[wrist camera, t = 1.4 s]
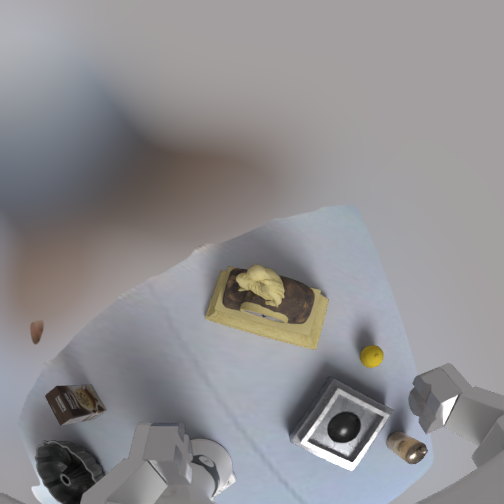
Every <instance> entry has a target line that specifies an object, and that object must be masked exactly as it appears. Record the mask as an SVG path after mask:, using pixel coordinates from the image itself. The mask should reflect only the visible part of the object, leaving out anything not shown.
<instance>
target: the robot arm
mask: <svg viewBox="0 0 504 504" xmlns="http://www.w3.org/2000/svg"><path fill="white" fill-rule="evenodd" d="M413 385H414V388H413V389H412V390H411V392H410V394H409V398H408V399H409V406H410V409H411V411H412V412H413V414H414V415H416V416H419V424H420V425H421V427H422V429H423V430H424V432H425V433H426V434H428V433H430V432H432V431H435V430H437V429H439V428H441V427H443V426H444V427H445V428H446V429H448V430H450V431H452V432H454V433H456V434H457V435H459V436H461V437H463V438H465V439H467V440H468V441H470V442H472V443H474V444H476V445H478V446H479V447H478V448H477V449H476V451H475V452H474V454H473V455H472V459H473V461H474V463H475V464H476V466H477V469H476V470H474V471H472V472H471V473H469V474H468V475H467V476H465V477H463V478H461V479H460V480H458V481H456V482H455V483H453V484H451V485H450V486H448V487H446V488H444V489H442V490H441V491H439V492H437V493H435V494H433V495H431V496H429V497H427V498H425V499H423V500H421V501H419V502H417V503H415V504H504V396H503V395H500V394H496V393H494V392H491V391H487V390H484V389H482V388H479V387H473V388H472V386H471V385H470V384H469V383H468V382H467V381H466V380H465V378H464V377H463V376H462V375H461V374H460V373H459V372H458V371H457V370H456V368H455V367H454V366H453V365H452V364H450V363H447V364H445V365H443V366H441V367H438V368H435V369H432V370H430V371H428V372H425V373H423V374H421V375H418V376H416V377H415V378H414V381H413ZM228 481H229V482H228ZM235 481H236V476H235V474H234V473H233V470H232V461H231V458H230V455H229V454H228V452H227V451H226V450H225V449H224V448H223V447H222V446H221V445H219V444H218V443H216V442H214V441H211V440H207V439H194V440H190V438H189V436H188V435H186V434H185V428H184V426H183V424H182V423H139V424H138V425H137V427H136V430H135V434H134V438H133V442H132V445H131V449H130V453H129V457H128V459H123V460H122V461H121V462H120V463H119V464H118V465H117V466H115V467H114V468H113V469H112V470H111V471H110V472H109V473H107V474H106V475H105V476H104V477H103V478H102V479H101V480H99V481H98V482H97V483H96V484H95V485H93V486H92V487H91V488H90V489H89V490H87V491H86V492H85V493H84V494H83V495H82V499H81V502H80V504H217V503H215V502H213V500H214V498H215V497H214V496H216V495H217V494H220V493H221V491H223V490H224V489H226V488H227V487H229V486H230V485H231V484H233V483H234V482H235ZM0 504H25V503H22V502H20V501H18V500H16V499H14V498H12V497H11V496H9V495H7V494H4V493H0Z"/></svg>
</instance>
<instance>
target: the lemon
mask: <svg viewBox="0 0 504 504" xmlns="http://www.w3.org/2000/svg"><path fill="white" fill-rule="evenodd" d="M383 356H384V355H383V351H382V350H381V348H379V347H378V346H375V345H370V346H367V347H365V348H364V349H363V350H362V352H361V355H360V360H361V362H362V364H363V365H364V366H366V367H369V368H373V367H376V366H378V365H379V364H380V363H381V362H382V360H383Z"/></svg>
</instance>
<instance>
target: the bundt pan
mask: <svg viewBox="0 0 504 504" xmlns="http://www.w3.org/2000/svg"><path fill="white" fill-rule="evenodd" d="M36 453H37V455H36V456H35V460H36V462H37V464H36V467H37V471H38V474H39V476H40V477H41V479H42V481H43V484H44V486H45V487H46V488H47V489H48V490H49V492H50V494H51V495H52V496H53V497H54V498H55V499H56V500H57V501H58V502H60V503H61V504H80V502H81V499H82V495H83V494H84V493H85V492H86V491H87V490H89V489H90V488H91V487H92V486H93V485H95V484H96V483H97V482H98V481H99V480H101V479H102V478H103V477H104V476H105V474H104V473H102V466H100V465H98V464H97V463H96V460H95V458H94V457H93V456H92V455H91V454H90V453H88V452H85V451H84V449H83V447H82V446H79V445H75V444H73V443H71V442H69V441H55V440H52V441H43V443H42V445H39V446H38V447H37V449H36Z"/></svg>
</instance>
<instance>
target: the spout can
mask: <svg viewBox="0 0 504 504" xmlns="http://www.w3.org/2000/svg"><path fill="white" fill-rule="evenodd" d="M386 445H387V447H388V448H389V449H390V450H391V451H393V452H394V453H395V454H397V455H398V456H399V457H401V458H402V459H403V460H405V461H406V462H408V463H409V464H416V463H418V462H419V461H421V460H422V459H423V458H424V456H425V454H426V453H427V452H428V450H427V448H426V445H425V444H423V443H421V442H420V441H418V440H416V439H414V438H412V437H410V436H408V435H406V434H404V433H403V432H400V431H397V432H394V433H392V434H391V435H390V436H389V437H388V439H387V442H386Z"/></svg>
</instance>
